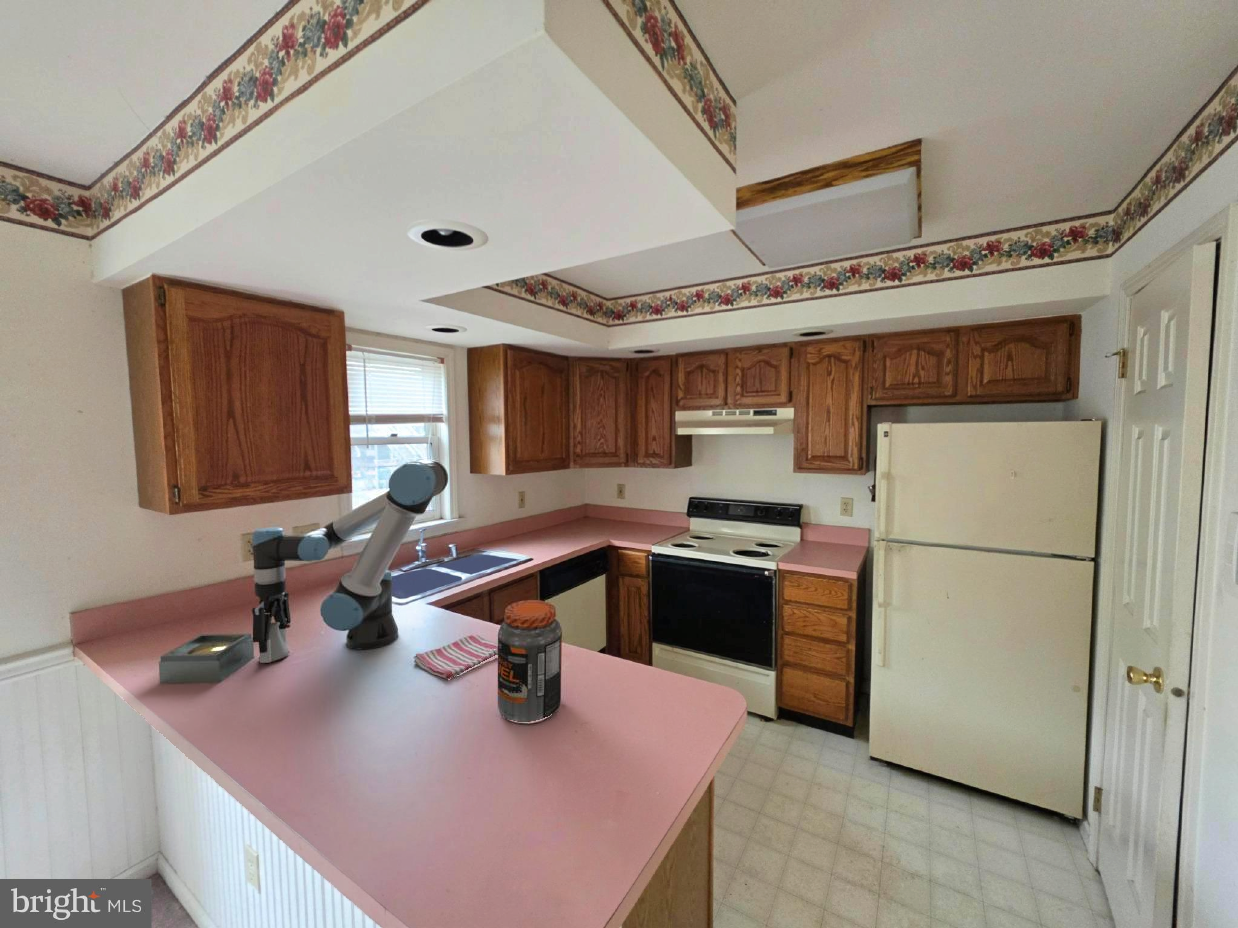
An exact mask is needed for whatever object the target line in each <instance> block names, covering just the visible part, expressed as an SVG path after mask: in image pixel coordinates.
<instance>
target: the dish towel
mask: <svg viewBox="0 0 1238 928" xmlns="http://www.w3.org/2000/svg"><path fill="white" fill-rule="evenodd" d="M495 655H498V642H494V641H491V640H488V639H486V638H484V637H482V636H480V635H478V634H471V635H467V636H465V637H461V638H460V639H457V640H455V641H454V642H451V643H449V644H446V645H444V646H440V647H438V648H436V649H435V648H433V649H431V650H427V651H425V652H424V651H423V652H422V653H419V652H417V653H415V655H414V656H413V662H414V663H415V664H416V666H417V665H418V667H419V668H421V669H423V670H424V669H425V670H424V671H426V670H427V671H426V672H428V671H429V673H430V674H432V675H435V676H437V675H438V677H441V678H443V677H444V678H443V679H445V678H447V679H450V678H452V677H454V676H457V675H460V674H461V673H463V672H464V671H466V670H468V669H469V668H472V667H474V666H475V665H478V664H480V663H481V662H483V661H485V660H487V659H489V658H491V657H493V656H495ZM460 676H461V675H460ZM454 678H455V677H454ZM447 679H446V680H447ZM452 679H453V678H452Z"/></svg>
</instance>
